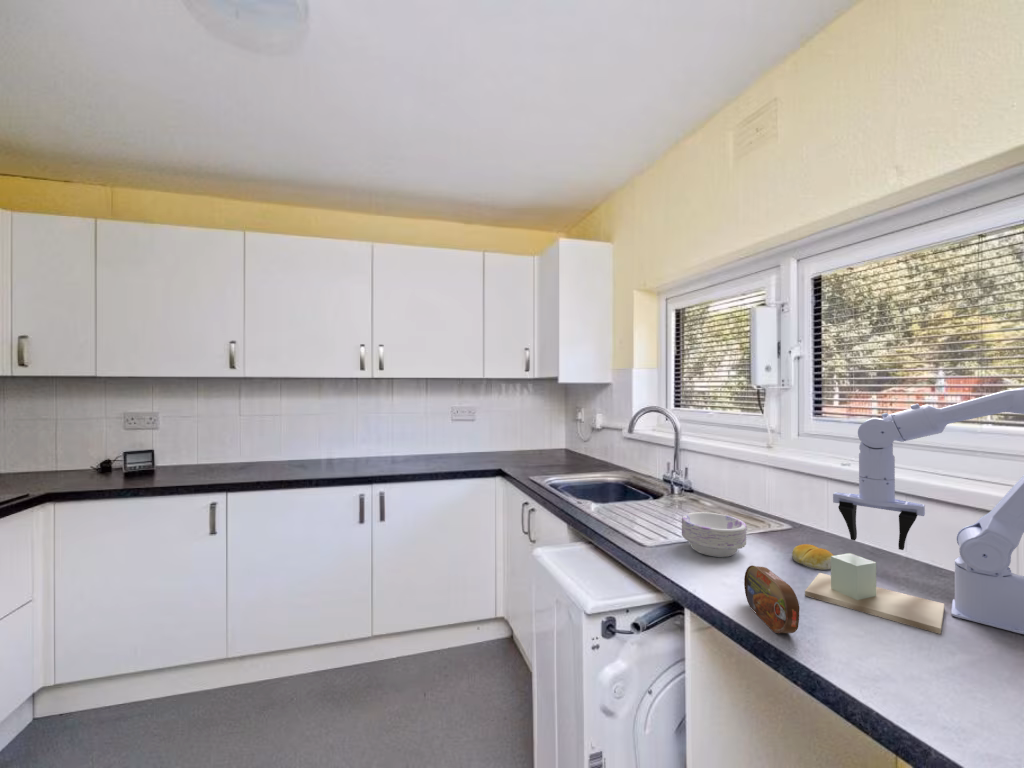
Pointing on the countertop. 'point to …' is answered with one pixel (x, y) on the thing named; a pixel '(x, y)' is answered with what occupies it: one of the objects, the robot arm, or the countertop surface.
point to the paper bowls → (714, 533)
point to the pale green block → (853, 576)
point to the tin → (772, 599)
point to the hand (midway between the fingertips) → (876, 543)
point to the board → (883, 604)
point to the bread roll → (812, 556)
